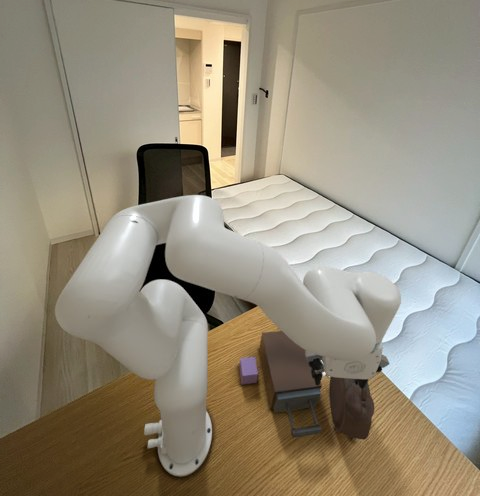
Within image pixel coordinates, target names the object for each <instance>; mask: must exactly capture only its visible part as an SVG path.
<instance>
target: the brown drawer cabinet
mask: <svg viewBox="0 0 480 496" xmlns="http://www.w3.org/2000/svg"><path fill="white" fill-rule="evenodd" d="M305 351H306V350H305V349H303V348H301V347H300V346H298V345H297V344H296V343H295V342H293V341H292V340H291V339H290V338H289V337H288V336H287V335H286V334H284V333H283V332H282V331H281V330H277V331H268V332H267V331H265V332H261V336H260V344H259V348H258V352H259V356H260V361H261V368H262V371H263V376H264V382H265V383H264V384H265V388H266V393H267V399H268V404H269V408H270V410H272V409H273V406H274V402H275V398H276V394H277V393H282V392H289V391H296V390H304V389H311V388H312V389H315V388H319V389H320V391H321V390H322V388H323V383H322V381H321V382H320V384H319V385H316V384H315V379H314V378H312V374H311V369H312V368H311V367H310V366H309V363H308V362H307V360H306V357H305ZM273 410H274V409H273Z"/></svg>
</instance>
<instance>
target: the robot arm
mask: <svg viewBox="0 0 480 496" xmlns="http://www.w3.org/2000/svg"><path fill="white" fill-rule="evenodd" d="M162 244H165V249H164V258H165V264H166V267H167V269H168V271H169V272H170V273H171V274H172V276H174V277H175V278H177V279H178V280H181V281H184V282H186V283H190V284H193V285H195V286H199V287H202V288H205V289H208V290H211V291H214V292H218V293H221V294H224V295H227V296H230V297H233V298H237V299H239V300H243V301H246V302H248V303H252V304H254V305H256V306H257V307H258V308H259V309H260V310H261V311H262V313H263V314H264V315H265V316H266V317H267V318H268V319H269V320H270V321H271V322H272V324H274V326H276V327H277V328H278V330H279V331H282V332H283V333H284V334H286V335H287V336H288V337H289V338H290V339H291V340H292V341H293V342H295V343H296V344H297V345H298V346H300V347H301V348H303V349H305V350H306V351H305V357H306V360H307V362H308V363H309V366H310V367H311V368H312V369H311V374H312V378H314V379H315V384H316V385H319V384H320V382H321V383H322V380H323V379H322V378H323V376H324V374H325V375H327V376H328V377H330V376H331V377H338V378H351V379H357V381H358V384H359V386H360V388H362V389H364V387H365V386H366V384H367V382H368V383H369V380H371V379H373V378H375V375H376V374H377V373H381V372H382V371H383V369H385V368H386V367H388V366H389V365H390V360H389V359H388V357H387V356H386V355H384V354H383V348H384V347H383V346H384V344H383V340H384V337H385V335H386V334H387V332H388V330H389V329H390V327H391V325H392V323H393V321H394V318H395V316H396V314H397V312H398V310H399V309H400V306H401V303H402V297H401V296H402V295H401V292H400V290H399V289H398V287H397V286H396V284H395V283H393V281H391V279H389V278H387V277H386V276H385V275H383V274H381V273H378V272H375V271H371V270H370V271H369V270H368V271H366V270H365V271H362V272H354V271H348V270H344V269H339V268H336V267H335V268H334V267H329V266H319V267H314V268H312V269H310V270H308V271H307V272H306V273H305V274H304V277H303V280H301V279H300V277H299V276H298V274H297V273H296V272H295V270H294V269H293V268H292V265H290V264H289V262H288V261H287V260H286V259H285V258H284V256H283V255H282V254H281V253H280V252H279V251H278V250H277V249H275V248H274V247H272V246H269V245H267V244H264V243H262V242H259V241H256V240H254V239H252V238H249V237H247V236H245V235H242V234H240V233H237V232H236V231H233V230H231V229H228V228H226V227H225V220H224V210H223V208H222V206H221V204H220V202H218V201H217V200H215V199H214V198H212V197H210V196H207V195H203V194H190V195H182V196H181V195H180V196H176V197H170V198H165V199H161V200H156V201H152V202H147V203H141V204H138V205H137V204H136V205H133V206H130V207H127V208H124V209H122V210H120V211H118V212H117V213H115V214H114V215H113V216H112V217H111V218H110V219H109V220H108V221H107V223H106V224H105V226H104V227H103V229H102V231H101V232H100V234H99V235H98V236H97V238H96V240H95V241H94V243H93V244H92V245H91V246H90V249H89V250H88V251H87V252H86V255H85V256H84V257H83V259H82V260H81V262H80V263H79V265H78V267H77V268H76V270H75V271H74V273H73V274H72V276H71V277H70V279H68V282H67V283H66V284H65V286H64V288H63V289H62V291H61V292H60V294H59V296H58V297H57V300H56V303H55V306H54V315H55V319H56V322H57V323H58V325H59V326H60V327H61V329H63V330H64V331H65V332H67V334H69V335H70V336H73V337H75V338H78V339H80V340H81V339H82V340H84V341H88V342H90V343H94V344H96V345H98V346H99V347H100V348H102V349H103V350H104V351H105V352H106V353H107V354H109V355H110V356H111V357H113V358H114V359H115V360H116V361H117V362H118V363H120V364H121V365H123V366H124V367H125V368H126V369H128V371H130V372H131V373H133V375H136V376H138V377H139V378H141V379H144V380H149V381H153V380H155V382H154V388H153V401H154V404H155V406H156V407H157V409H158V410H159V415H160V416H159V417H160V420H159V422H150V423H149V422H148V423H145V425H144V430H143V436H152V435H154V434H157V438H151V439H148V440H147V449H154V448H157V454H158V458H159V461H160V463H161V465H162V467H163V469H164V470H165V471H166V472H167V473H168V474H170V475H172V476H175V477H179V478H180V477H187V476H189V475H191V474H192V473H194V472H196V470H198V469H199V468H200V467H201V466H202V465H203V463H204V461H205V460H206V459H207V456H208V454H209V451H210V448H211V444H212V439H213V426H212V425H213V424H212V421H211V417H210V414H209V413H208V410H207V395H208V382H209V380H208V374H209V373H208V371H209V369H208V367H209V363H208V361H209V355H208V354H209V351H208V347H209V346H208V345H209V344H208V343H209V342H208V341H209V327H208V326H209V325H208V320H207V318H206V315H205V314H204V313H203V311H202V310H201V309H200V307H199V306H198V304H196V302H195V301H194V300H193V298H192V297H191V295H189V293H188V292H187V291H186V290H185V289H184V287H182V285H180V284H179V283H177V282H175V281H172V280H170V279H154V280H151V281H149V282H148V283H146V284H145V285H144V283H145V281H146V277H147V274H148V272H149V268H150V265H151V262H152V259H153V257H154V253H155V250H156V246H158V245H162ZM143 285H144V286H143ZM321 361H322V363H323V364H322V365H321ZM323 373H324V374H323Z"/></svg>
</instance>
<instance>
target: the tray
mask: <svg viewBox="0 0 480 496" xmlns="http://www.w3.org/2000/svg"><path fill="white" fill-rule="evenodd" d="M321 395H322V391H321V390H320V389H319V388H315V389H312V388H311V389H304V390H296V391H289V392H282V393H277V394H276V398H275V402H274V406H273V413H275V414H276V413H283V412H287V416H288V420H289V425H290V427H291V429H290V433H291V438H292V439H296V438H301V437H307V436H312V435H313V436H315V435H319V434H322V433H323V429H322V426H321V425H320V424H319V421H318V418H317V415H316V412H315V409H314V408H316V407H317V405H318V402H319V399H320V398H321ZM304 409H310V411H311V416H312V418H313V421H314V425H310V426H304V427H303V426H302V427H297V428H295V425H294V421H293V416H292V413H291V411H296V410H304Z"/></svg>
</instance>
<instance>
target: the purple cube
mask: <svg viewBox="0 0 480 496" xmlns="http://www.w3.org/2000/svg"><path fill="white" fill-rule="evenodd" d="M257 365H258V364H257V359H256V356H249V357H240V359H239V366H238V367H239V368H238V369H239V376H240V384H241V385H248V384H256V383H257V381H258V377H259V371H258V366H257Z"/></svg>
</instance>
